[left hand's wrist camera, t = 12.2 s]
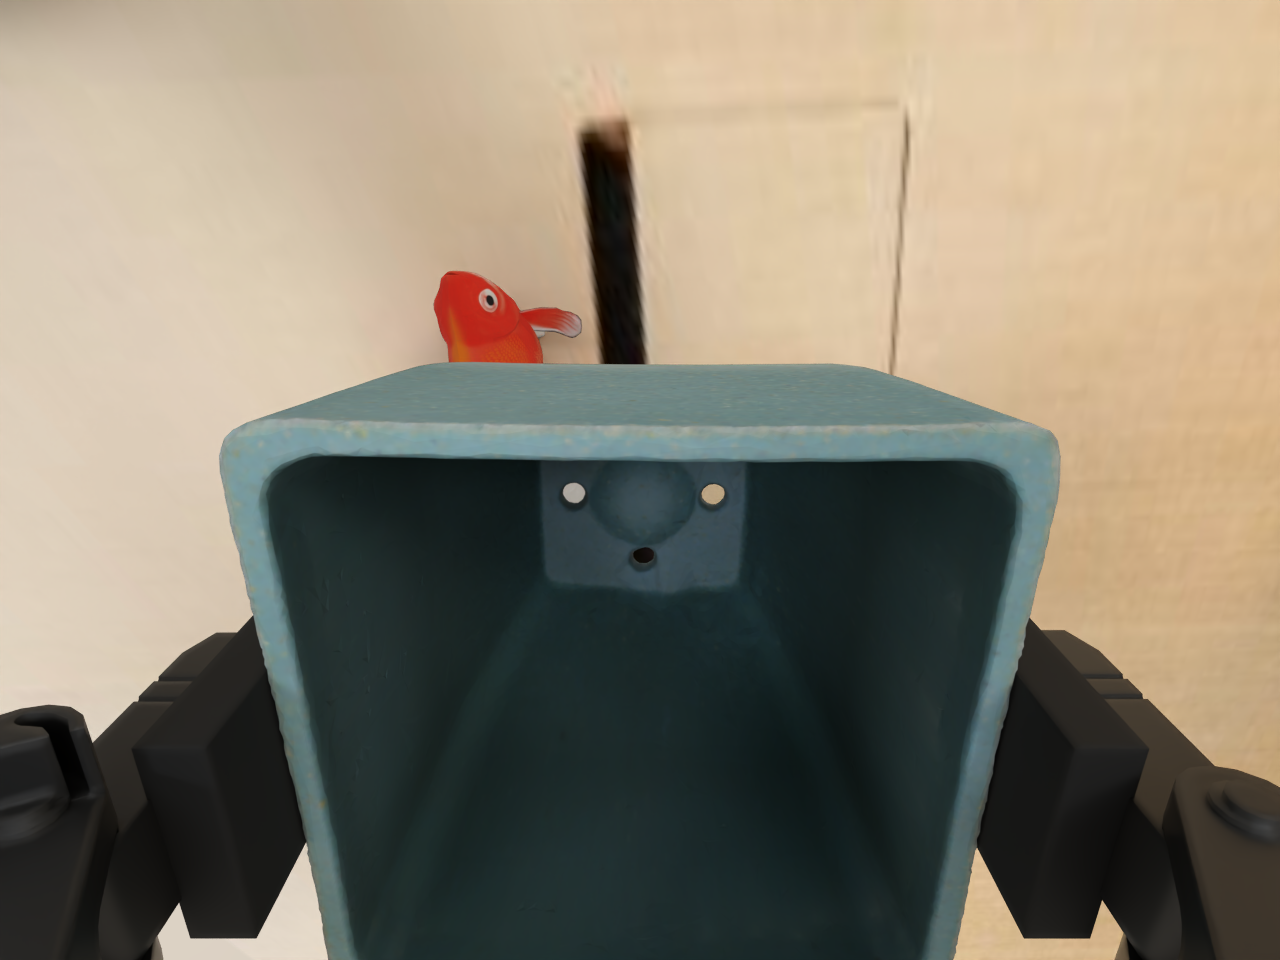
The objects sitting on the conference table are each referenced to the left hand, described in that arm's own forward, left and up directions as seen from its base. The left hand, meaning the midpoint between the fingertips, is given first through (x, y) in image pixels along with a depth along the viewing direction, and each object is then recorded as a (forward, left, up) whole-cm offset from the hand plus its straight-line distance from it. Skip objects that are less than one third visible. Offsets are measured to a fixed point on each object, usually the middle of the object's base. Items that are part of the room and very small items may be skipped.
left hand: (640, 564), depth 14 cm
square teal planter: (0, 0, -4) cm, 4 cm away
